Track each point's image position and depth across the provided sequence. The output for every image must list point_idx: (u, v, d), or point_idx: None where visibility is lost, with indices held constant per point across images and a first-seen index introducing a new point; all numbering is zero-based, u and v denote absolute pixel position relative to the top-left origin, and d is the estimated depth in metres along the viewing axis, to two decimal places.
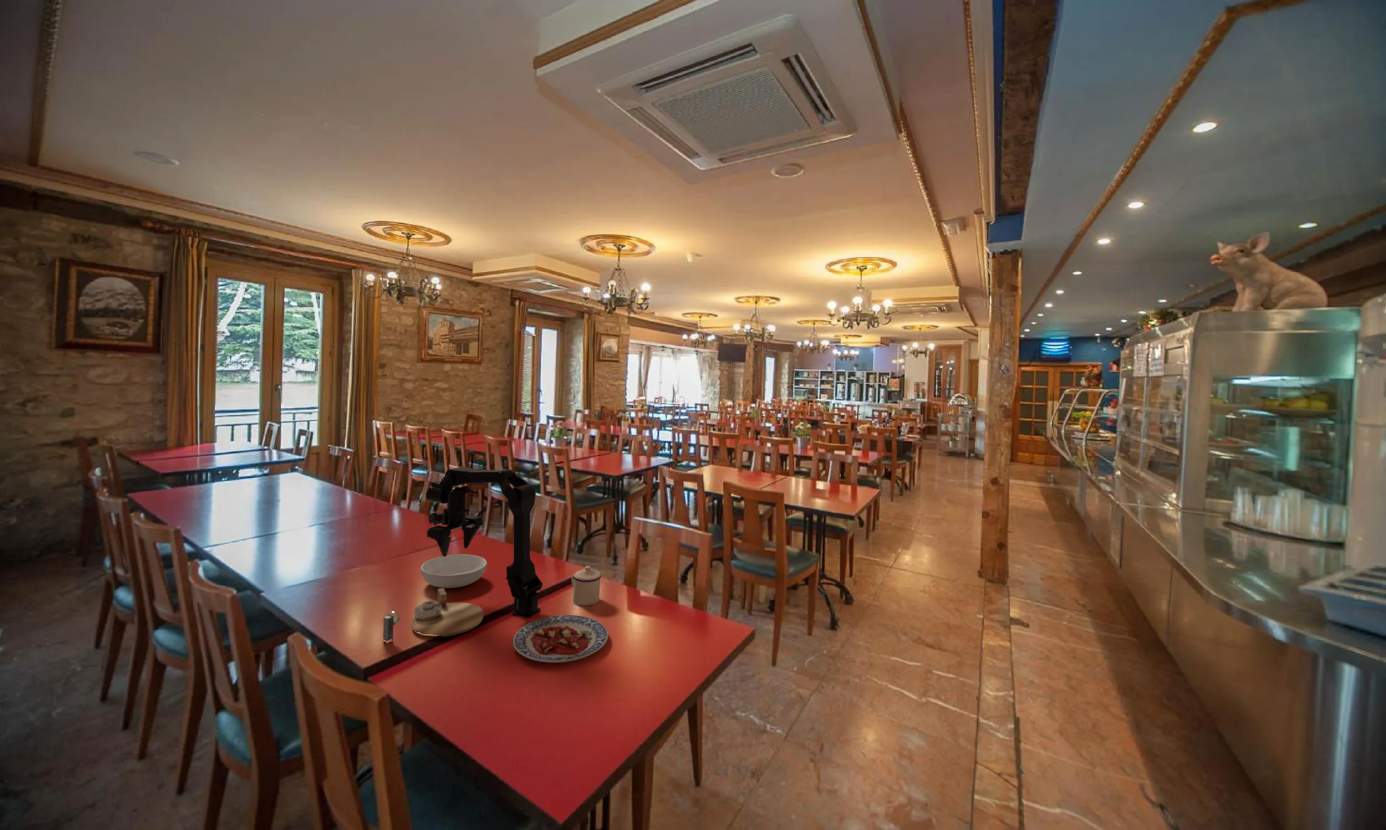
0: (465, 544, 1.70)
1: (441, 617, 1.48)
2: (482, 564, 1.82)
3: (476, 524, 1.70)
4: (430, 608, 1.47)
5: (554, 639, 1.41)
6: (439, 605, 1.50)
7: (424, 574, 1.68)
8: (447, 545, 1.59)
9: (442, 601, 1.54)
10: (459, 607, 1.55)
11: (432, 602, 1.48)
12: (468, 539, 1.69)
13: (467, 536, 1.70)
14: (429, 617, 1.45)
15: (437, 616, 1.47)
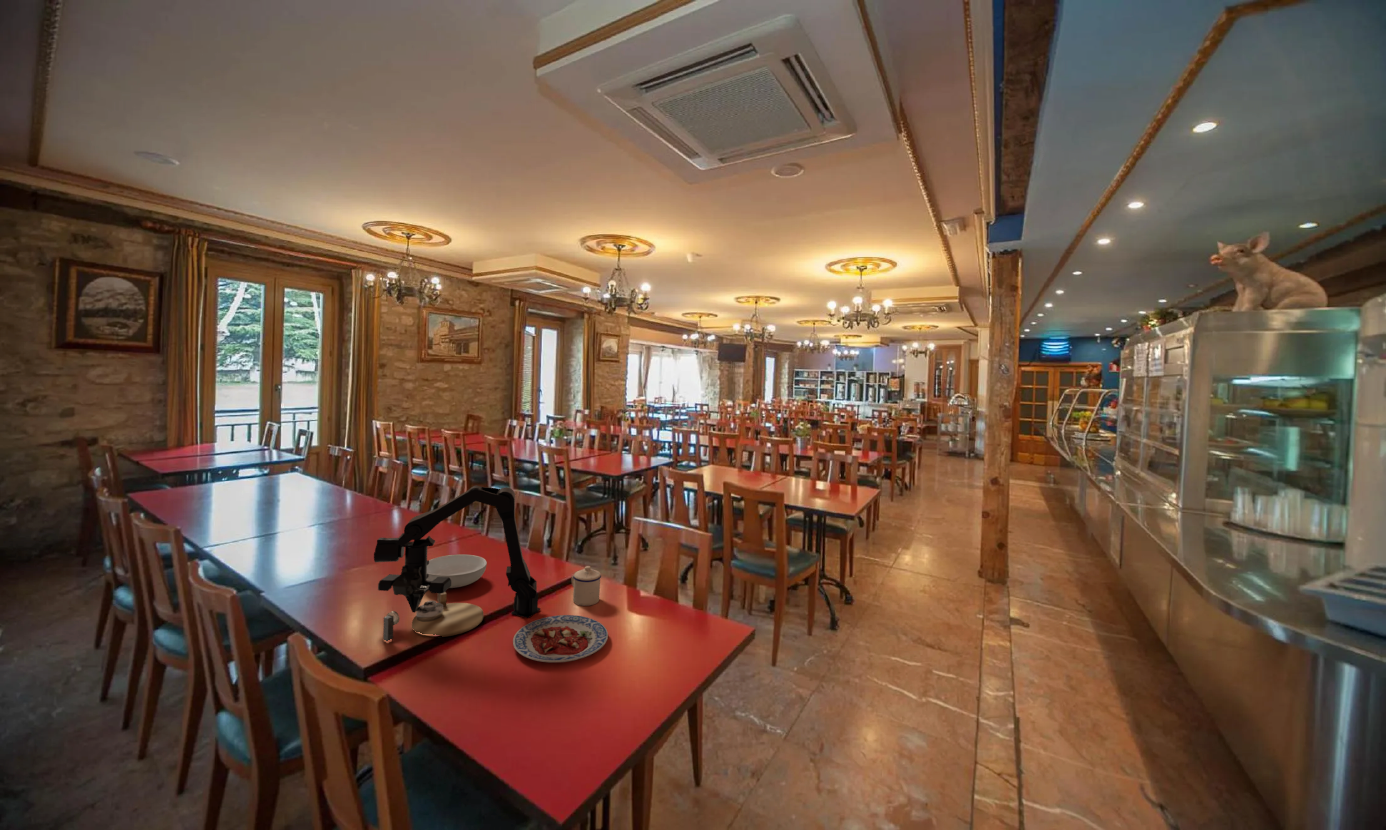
0: None
1: (441, 617, 1.48)
2: (482, 564, 1.82)
3: None
4: (432, 608, 1.47)
5: (554, 639, 1.41)
6: (441, 605, 1.50)
7: None
8: None
9: (442, 601, 1.54)
10: (459, 607, 1.55)
11: (434, 602, 1.48)
12: None
13: None
14: (431, 617, 1.45)
15: (439, 616, 1.47)
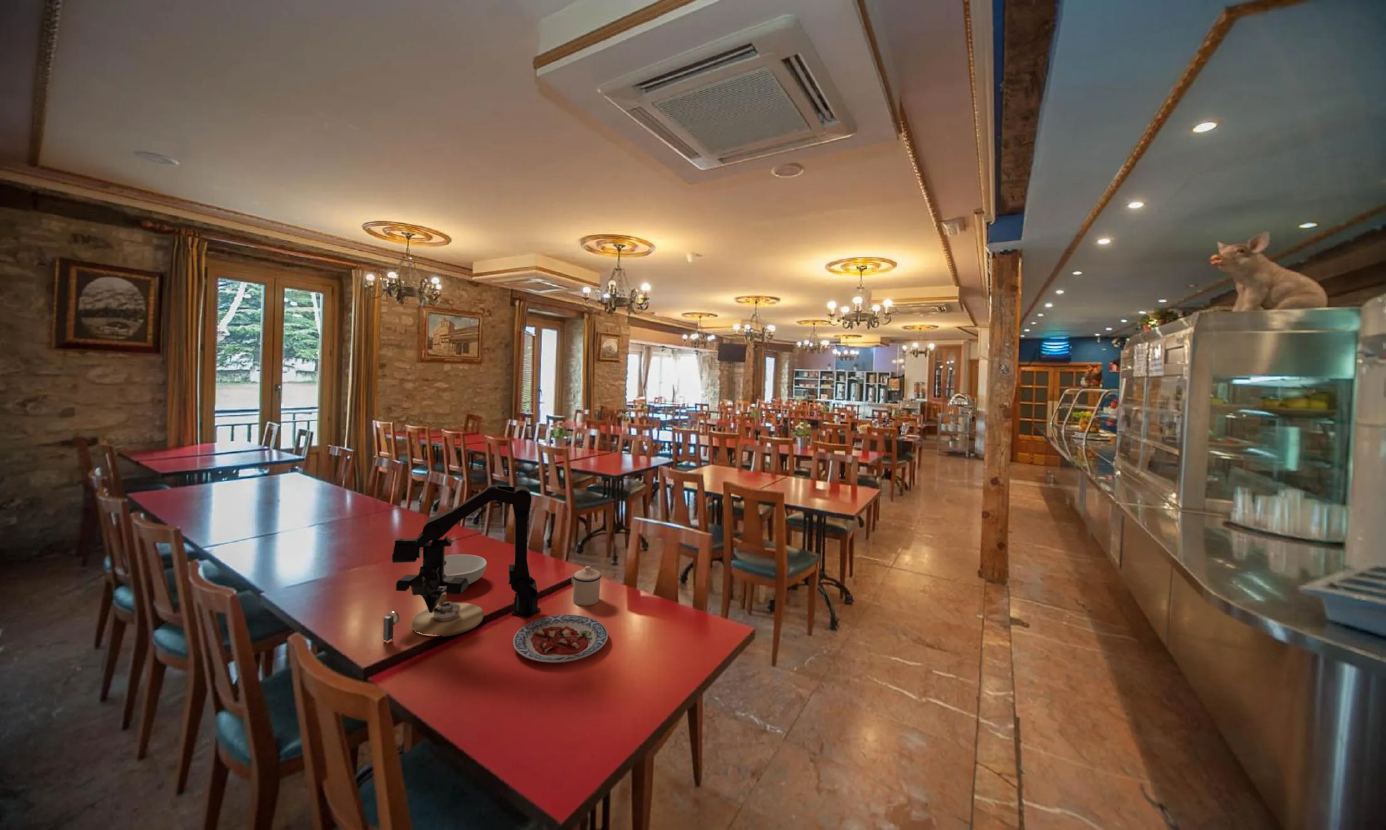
0: None
1: None
2: (482, 564, 1.82)
3: None
4: (449, 609, 1.47)
5: (554, 639, 1.41)
6: (457, 606, 1.50)
7: None
8: None
9: (442, 601, 1.54)
10: None
11: (451, 603, 1.48)
12: None
13: (431, 598, 1.48)
14: (448, 618, 1.45)
15: (456, 617, 1.47)
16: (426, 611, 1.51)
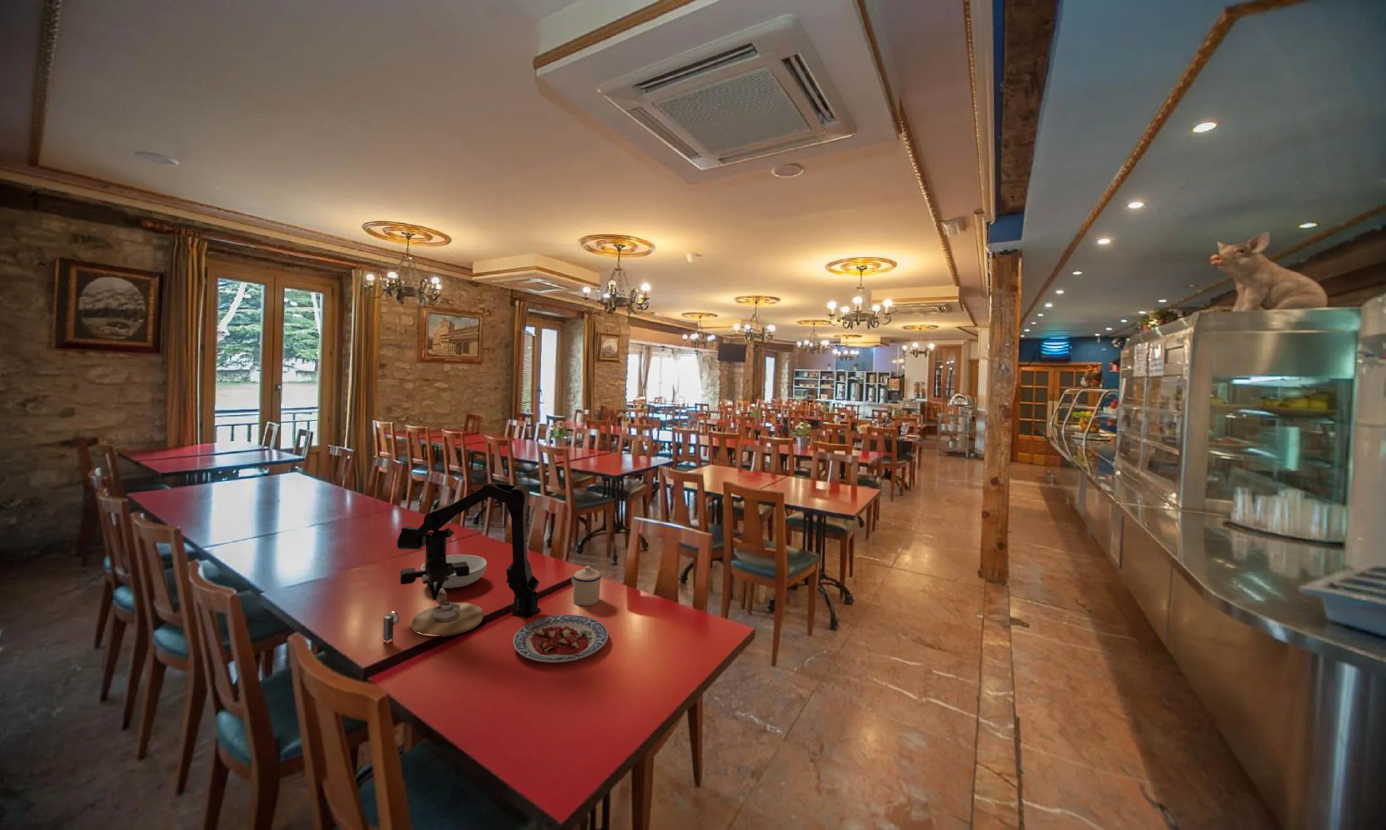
0: None
1: None
2: (482, 564, 1.82)
3: None
4: (449, 609, 1.47)
5: (554, 639, 1.41)
6: (458, 606, 1.50)
7: None
8: None
9: (442, 601, 1.54)
10: None
11: (451, 603, 1.48)
12: None
13: None
14: (448, 618, 1.45)
15: (456, 617, 1.47)
16: (426, 611, 1.51)
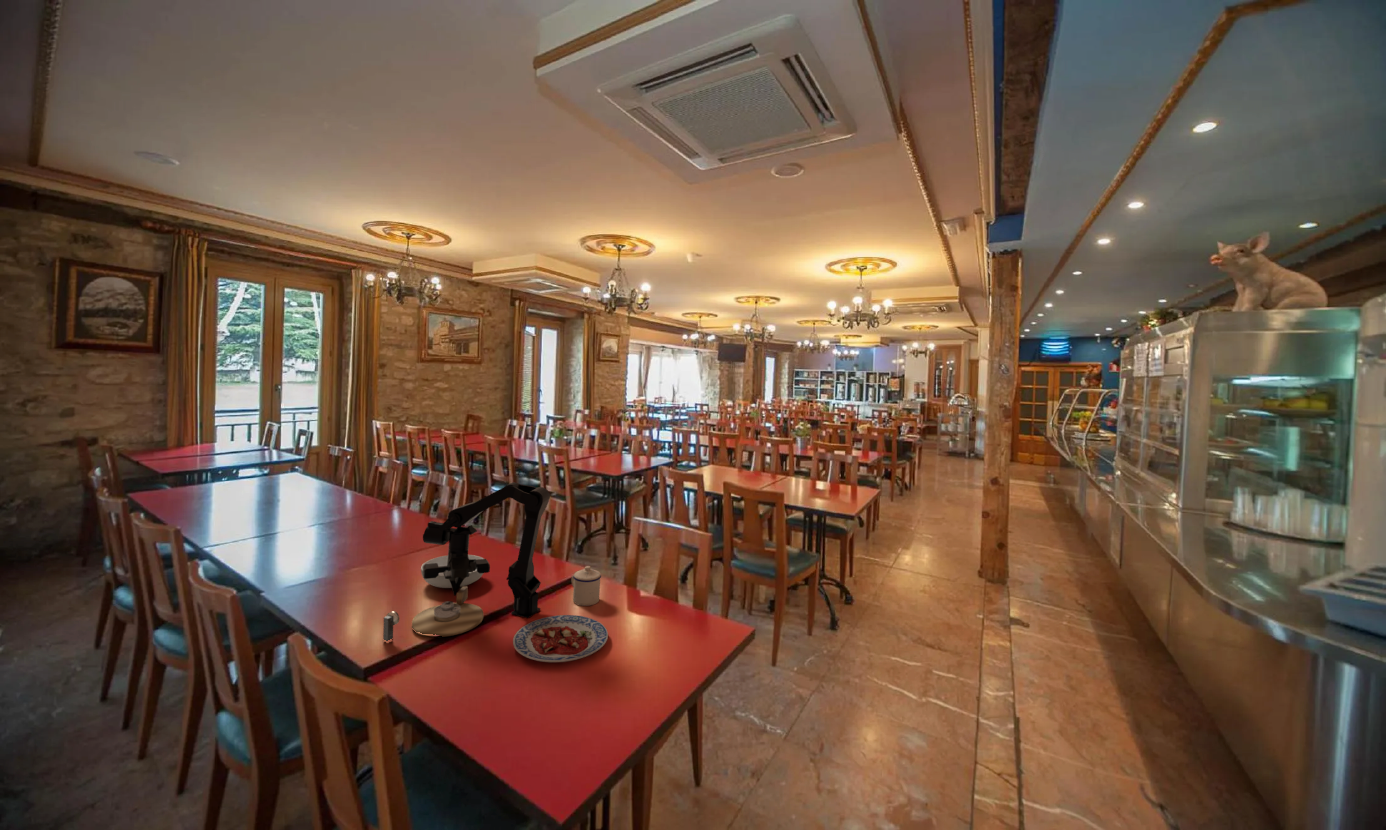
0: None
1: None
2: None
3: None
4: (446, 609, 1.47)
5: (554, 639, 1.41)
6: (458, 608, 1.49)
7: None
8: None
9: (458, 599, 1.56)
10: (468, 609, 1.54)
11: (450, 604, 1.48)
12: None
13: None
14: (441, 618, 1.45)
15: (450, 619, 1.46)
16: None
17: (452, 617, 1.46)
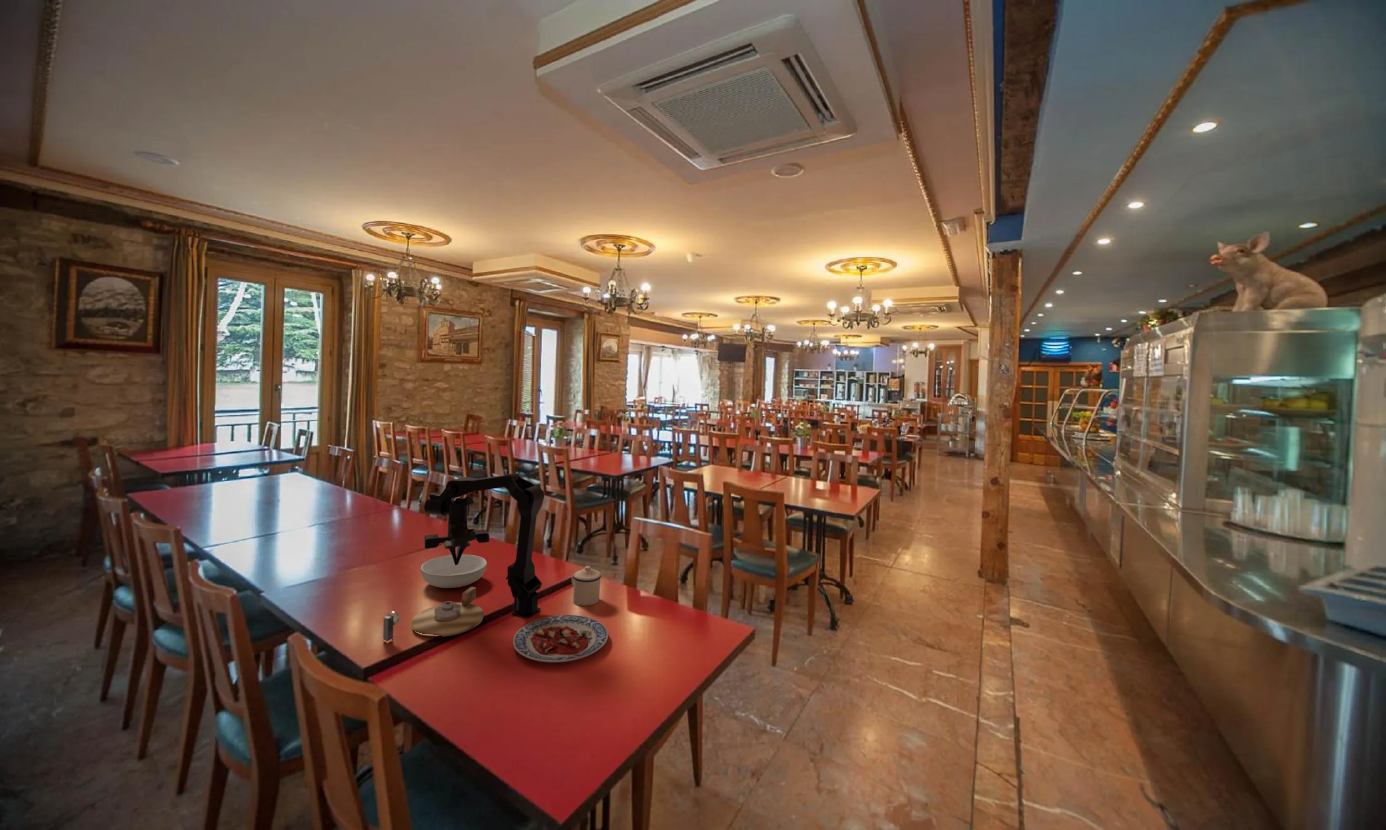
0: None
1: None
2: (482, 564, 1.82)
3: None
4: (445, 609, 1.47)
5: (554, 639, 1.41)
6: (457, 609, 1.48)
7: (424, 574, 1.68)
8: None
9: (463, 600, 1.56)
10: (470, 611, 1.53)
11: (450, 604, 1.48)
12: None
13: None
14: (439, 618, 1.45)
15: (447, 619, 1.45)
16: None
17: (450, 617, 1.46)
